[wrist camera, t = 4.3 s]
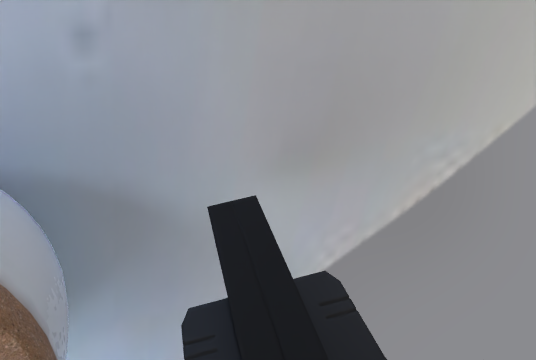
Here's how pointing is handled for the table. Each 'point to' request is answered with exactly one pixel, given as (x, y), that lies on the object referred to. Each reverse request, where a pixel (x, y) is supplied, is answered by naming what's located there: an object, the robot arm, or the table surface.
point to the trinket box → (29, 289)
